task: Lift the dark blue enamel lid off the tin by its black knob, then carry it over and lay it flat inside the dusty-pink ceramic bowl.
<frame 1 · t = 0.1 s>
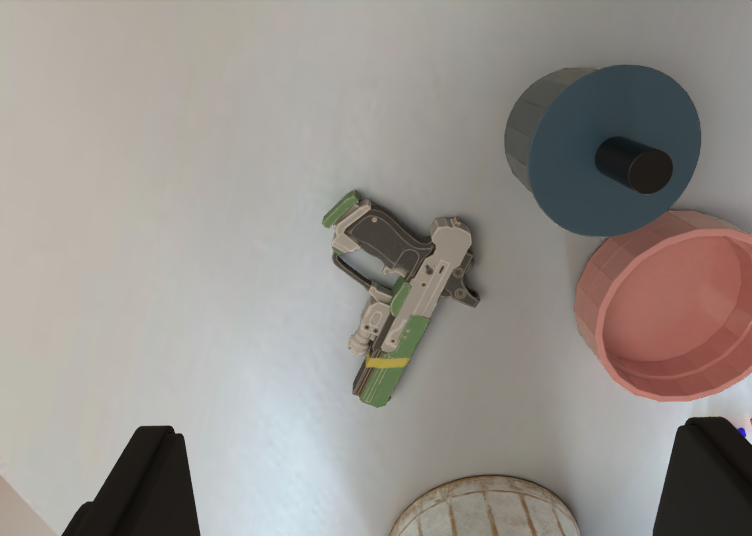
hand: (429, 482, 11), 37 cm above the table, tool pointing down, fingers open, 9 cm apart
bowl: (659, 292, 50), on the table
lid: (611, 154, 37), point 8 cm above the table, touching tin
tin: (567, 135, 44), on the table
futuristic handgun: (381, 295, 50), on the table
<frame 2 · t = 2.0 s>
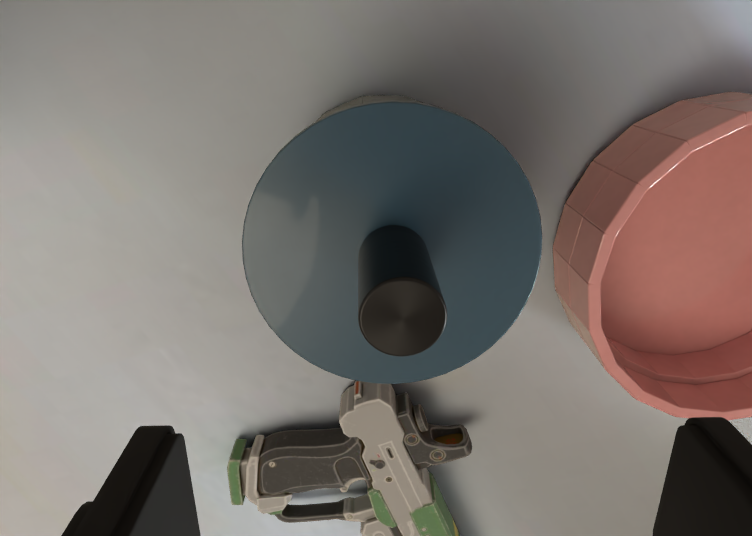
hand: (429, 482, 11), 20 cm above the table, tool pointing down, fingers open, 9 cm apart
bowl: (691, 240, 30), on the table
lid: (392, 252, 21), point 8 cm above the table, touching tin
tin: (383, 196, 29), on the table
futuristic handgun: (374, 495, 37), on the table
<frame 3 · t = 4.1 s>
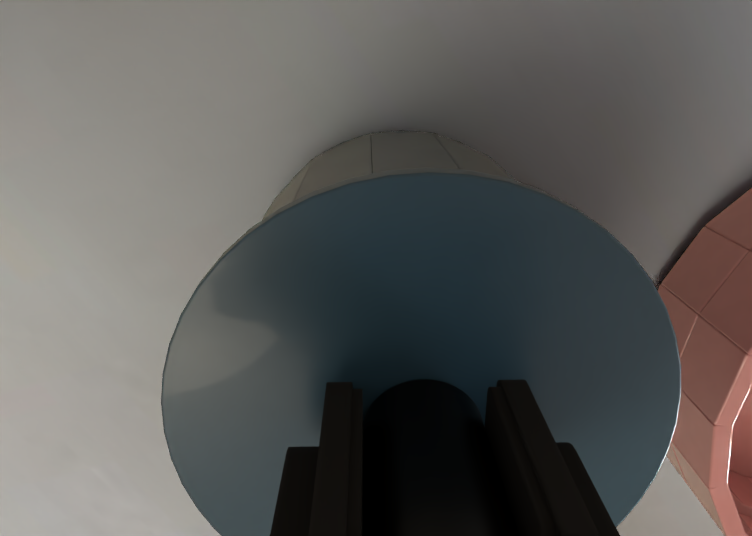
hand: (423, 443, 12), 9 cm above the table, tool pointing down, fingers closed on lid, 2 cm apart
lid: (419, 414, 12), point 9 cm above the table, touching gripper, tin
tin: (399, 271, 20), on the table
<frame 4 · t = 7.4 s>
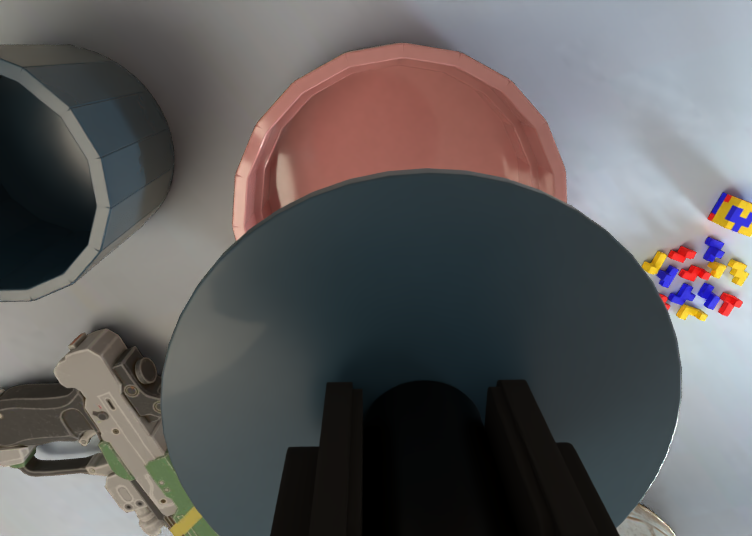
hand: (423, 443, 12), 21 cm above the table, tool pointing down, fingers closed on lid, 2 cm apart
building blocks: (699, 258, 33), on the table
bowl: (394, 194, 31), on the table
lid: (419, 415, 12), point 20 cm above the table, touching gripper
tin: (77, 147, 30), on the table
futuristic handgun: (131, 452, 37), on the table
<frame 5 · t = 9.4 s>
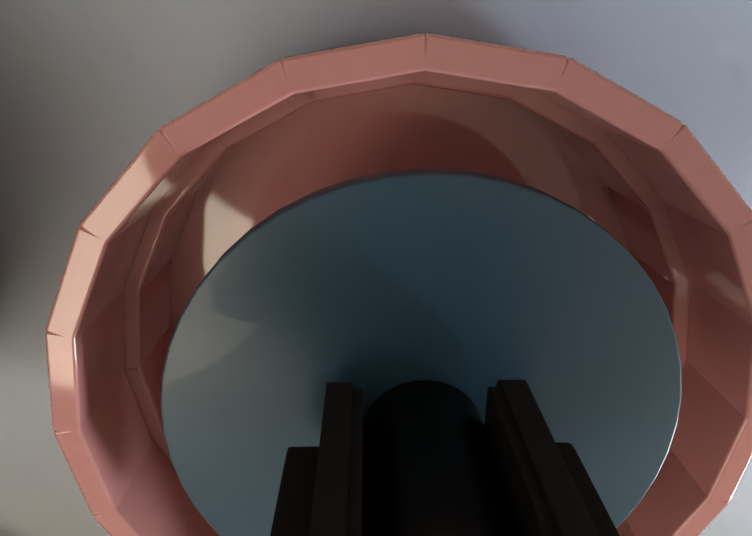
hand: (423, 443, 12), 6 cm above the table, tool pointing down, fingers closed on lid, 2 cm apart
bowl: (400, 312, 17), on the table
lid: (419, 415, 12), point 5 cm above the table, touching gripper
when the fingers open (2 cm above the table, at t = 10.8 s): lid stays where it is, resting on bowl.
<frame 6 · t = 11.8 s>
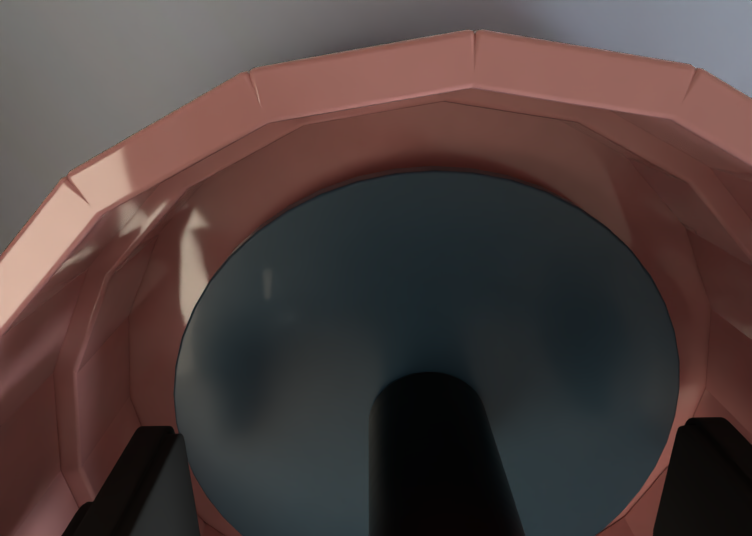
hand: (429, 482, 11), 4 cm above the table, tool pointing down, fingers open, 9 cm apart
bowl: (417, 379, 14), on the table
lid: (424, 406, 13), point 1 cm above the table, touching bowl
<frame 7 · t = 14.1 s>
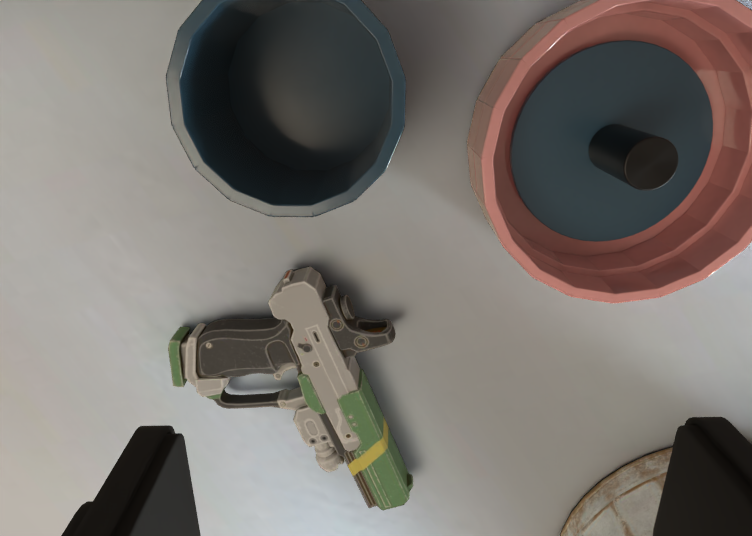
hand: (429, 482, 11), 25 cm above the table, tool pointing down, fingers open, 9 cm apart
bowl: (599, 142, 33), on the table
lid: (607, 146, 32), point 1 cm above the table, touching bowl
tin: (310, 90, 32), on the table
futuristic handgun: (310, 392, 39), on the table
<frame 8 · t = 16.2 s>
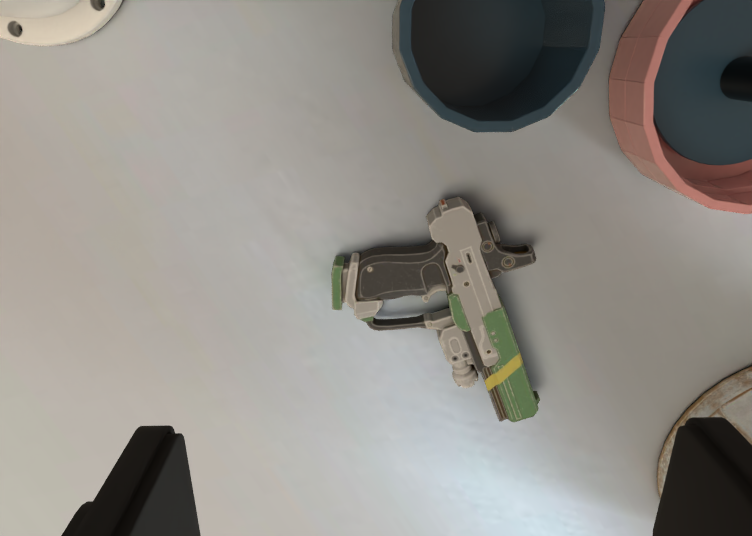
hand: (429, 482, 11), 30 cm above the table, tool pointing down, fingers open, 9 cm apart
bowl: (723, 76, 37), on the table
lid: (735, 77, 36), point 1 cm above the table, touching bowl
tin: (471, 32, 36), on the table
futuristic handgun: (446, 316, 43), on the table
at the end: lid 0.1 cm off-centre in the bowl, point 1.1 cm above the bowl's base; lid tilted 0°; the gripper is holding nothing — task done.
